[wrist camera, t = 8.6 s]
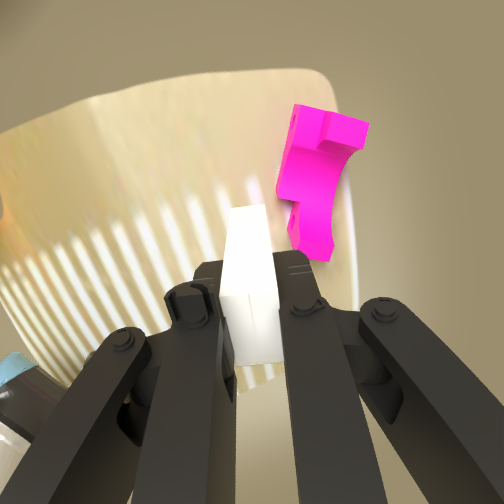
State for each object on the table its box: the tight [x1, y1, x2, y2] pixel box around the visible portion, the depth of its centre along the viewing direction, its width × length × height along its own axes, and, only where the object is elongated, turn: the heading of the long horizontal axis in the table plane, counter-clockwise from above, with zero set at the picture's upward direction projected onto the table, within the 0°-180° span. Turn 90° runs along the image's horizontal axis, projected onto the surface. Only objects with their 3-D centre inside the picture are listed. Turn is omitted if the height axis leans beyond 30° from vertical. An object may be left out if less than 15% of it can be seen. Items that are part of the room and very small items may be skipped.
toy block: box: [276, 104, 369, 262], centre depth 32 cm, size 15×6×8 cm, turn 169°
